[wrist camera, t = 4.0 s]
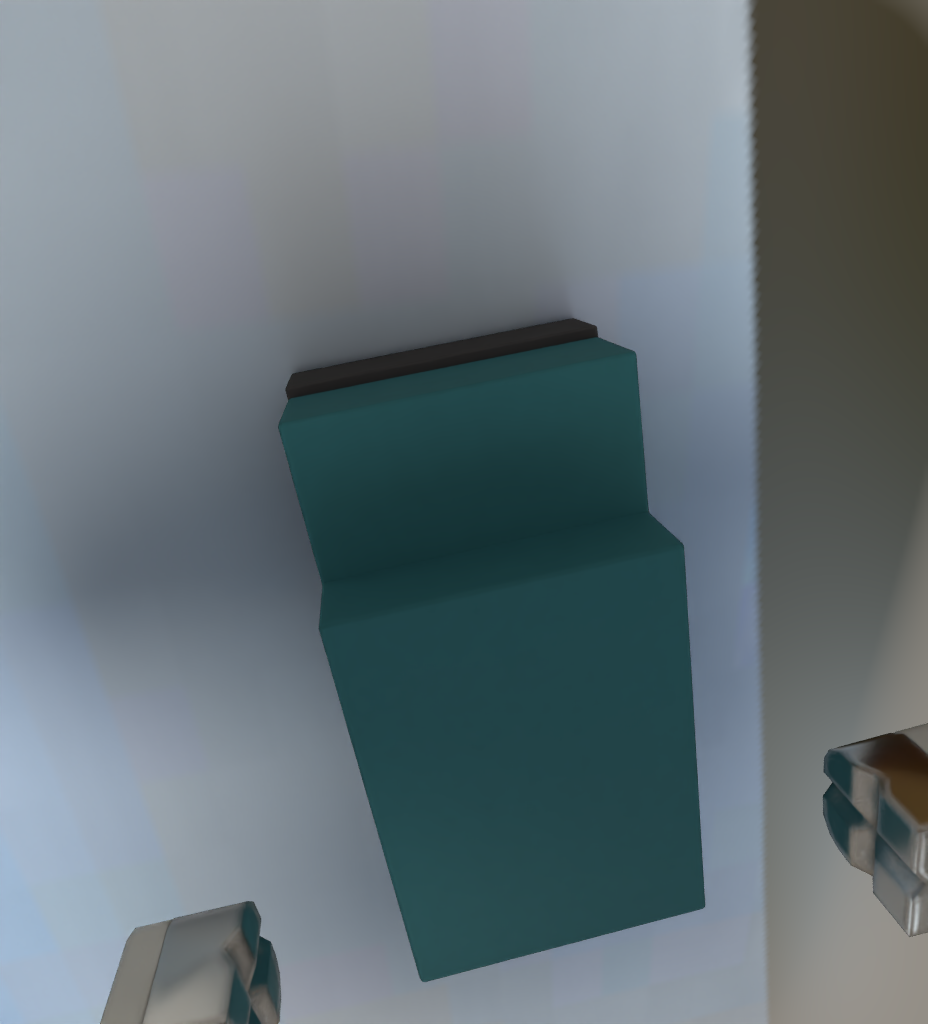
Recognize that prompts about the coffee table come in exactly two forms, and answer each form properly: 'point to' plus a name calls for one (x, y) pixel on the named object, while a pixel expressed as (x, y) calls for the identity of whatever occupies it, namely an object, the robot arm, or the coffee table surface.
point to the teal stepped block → (504, 637)
